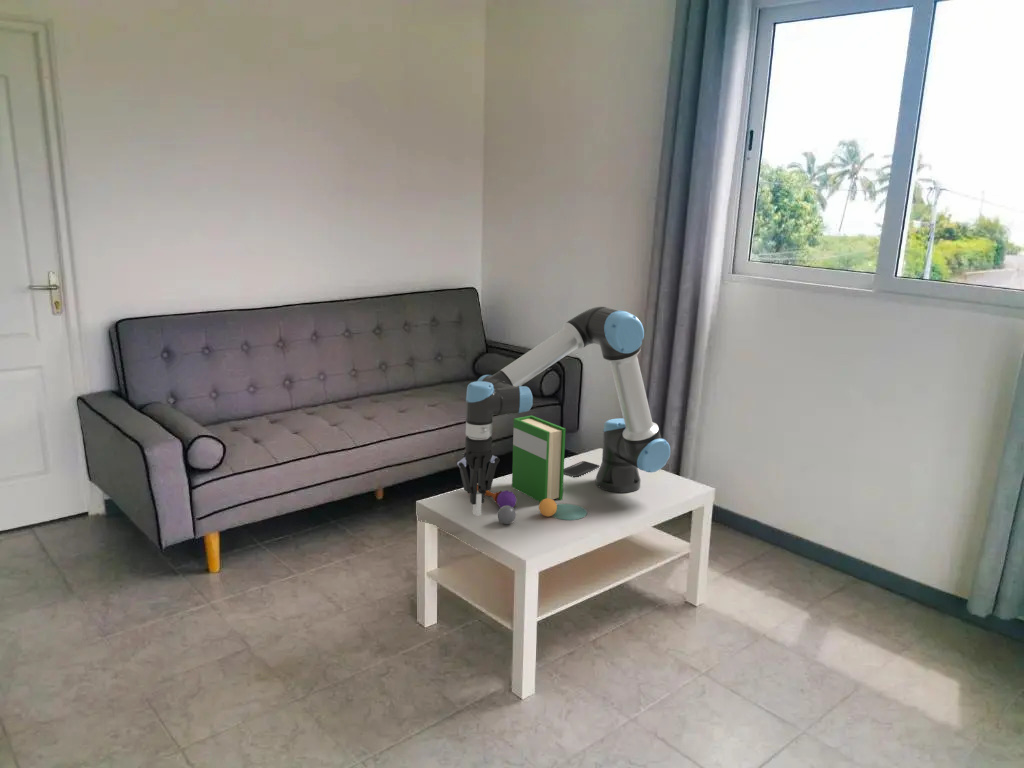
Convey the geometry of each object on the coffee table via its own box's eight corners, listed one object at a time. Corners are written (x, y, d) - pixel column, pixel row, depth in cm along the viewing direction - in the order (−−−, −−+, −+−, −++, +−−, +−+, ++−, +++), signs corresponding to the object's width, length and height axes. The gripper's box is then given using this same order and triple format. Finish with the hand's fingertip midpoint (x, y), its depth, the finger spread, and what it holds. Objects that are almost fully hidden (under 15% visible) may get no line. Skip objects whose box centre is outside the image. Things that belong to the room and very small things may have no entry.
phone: (558, 470, 267) (583, 460, 278) (558, 473, 267) (583, 463, 278) (577, 476, 262) (601, 465, 273) (576, 479, 262) (601, 468, 273)
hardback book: (562, 499, 243) (565, 428, 237) (544, 504, 239) (547, 432, 233) (529, 482, 257) (531, 415, 251) (511, 487, 252) (513, 418, 247)
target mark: (582, 504, 240) (582, 503, 240) (590, 519, 228) (590, 518, 228) (545, 504, 238) (545, 504, 238) (551, 520, 227) (551, 519, 226)
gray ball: (514, 519, 227) (515, 502, 225) (516, 527, 221) (517, 509, 220) (496, 519, 226) (496, 502, 225) (498, 527, 221) (498, 510, 219)
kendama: (481, 478, 249) (521, 492, 234) (479, 496, 249) (518, 511, 234) (467, 479, 245) (506, 493, 230) (465, 497, 245) (504, 512, 230)
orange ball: (554, 511, 233) (555, 495, 232) (558, 519, 228) (558, 502, 226) (537, 512, 232) (537, 495, 231) (540, 519, 227) (540, 502, 226)
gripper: (462, 442, 207) (461, 522, 212) (505, 437, 213) (502, 515, 218) (452, 434, 213) (451, 512, 219) (493, 430, 219) (491, 505, 224)
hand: (476, 513), depth 218 cm, fingers closed
